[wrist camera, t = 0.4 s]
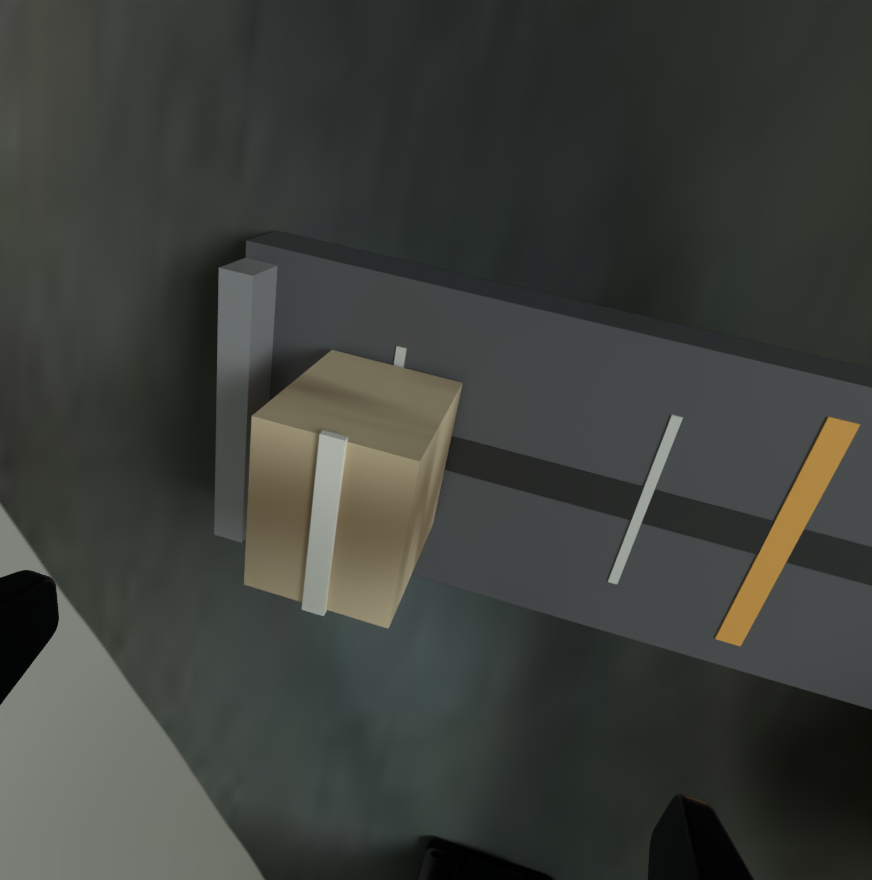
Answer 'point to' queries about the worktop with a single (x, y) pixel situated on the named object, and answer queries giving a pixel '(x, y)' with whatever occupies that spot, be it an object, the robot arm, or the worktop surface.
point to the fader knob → (346, 484)
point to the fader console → (592, 456)
